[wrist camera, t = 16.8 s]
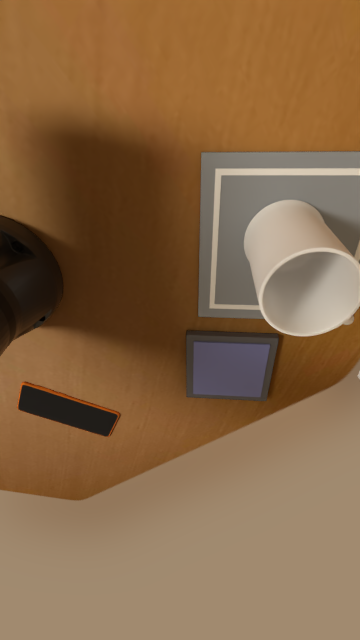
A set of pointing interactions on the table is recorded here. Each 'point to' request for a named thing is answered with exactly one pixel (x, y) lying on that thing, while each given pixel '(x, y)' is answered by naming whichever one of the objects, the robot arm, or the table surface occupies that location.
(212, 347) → the ink pad
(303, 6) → the table surface
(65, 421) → the smartphone
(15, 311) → the robot arm
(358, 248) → the print mat
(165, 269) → the table surface
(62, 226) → the table surface
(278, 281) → the mug
